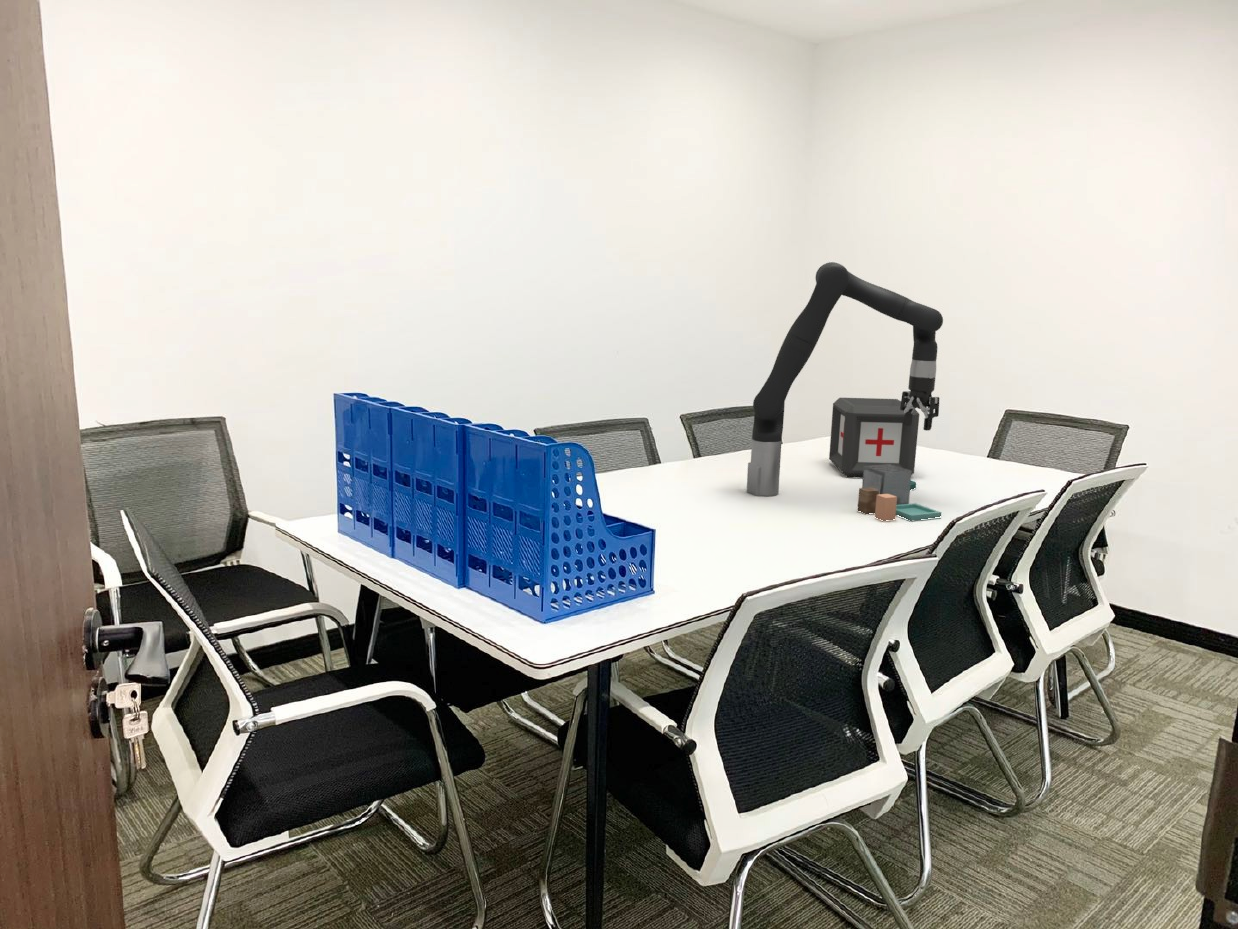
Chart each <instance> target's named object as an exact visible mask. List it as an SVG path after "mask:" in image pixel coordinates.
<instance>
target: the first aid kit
mask: <svg viewBox="0 0 1238 929" xmlns="http://www.w3.org/2000/svg"><path fill="white" fill-rule="evenodd" d="M900 406H901V400H900V399H898V398H876V397H875V398H874V397H873V398H872V397H866V398H865V397H839V398H837V399H836V400H835V401H834V402H833V403H832V416H831V427H830V428H831V429H830V442H829V452H828V453H829V455H828V460H830V462H832V464H833V465H834V467H836V468H837V469H838V470H839V471H840V472H841V473H842V474H844V476H845V477H846V478H853V477H863V470H864V466H872V465H885V464H891V465H894V466H898V467H901V468H904V469H907V470H911V471H912V473H911V476H913V474H915V465H916V454H917V447H918V446H917V445H918V444H917V443H918V433H919V425H920V424H919V423H920V413H919V412H918V411H917V410H916V408H915V409H914V411H913V412H912V414H913V415H912V424H911V425H910V426H906V425H905V423H904V418H905V413H904V411H903V410H900ZM904 406H906V403H905V405H904Z"/></svg>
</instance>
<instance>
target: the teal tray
mask: <svg viewBox="0 0 1238 929" xmlns="http://www.w3.org/2000/svg"><path fill="white" fill-rule="evenodd" d="M896 515H899V516H901V517H904V518H906V519H908V520H910V521H912V520H921V519H928V518H935V517H940V516H941V517H942V512H941V511H939V510H936V509H934V508H930V507H928V506H925V505H921V504H919V503H917V502H914V503H909V504H902V505H896ZM908 520H907V521H908ZM910 521H909V522H910ZM921 521H922V520H921ZM912 522H913V521H912Z"/></svg>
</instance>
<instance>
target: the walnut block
mask: <svg viewBox="0 0 1238 929" xmlns="http://www.w3.org/2000/svg"><path fill="white" fill-rule="evenodd" d="M877 495H879V490H876V489H873V488H871V487H869V488H862V487H861V488H860V487H859V489H858V498H857V499H858V500H857V510H858V511H861V512H863V513H865V514H864V515H866V514H868V515H870V514H869V513H875V509H876V497H877ZM858 511H857V512H858ZM863 513H862V514H863Z"/></svg>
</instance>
